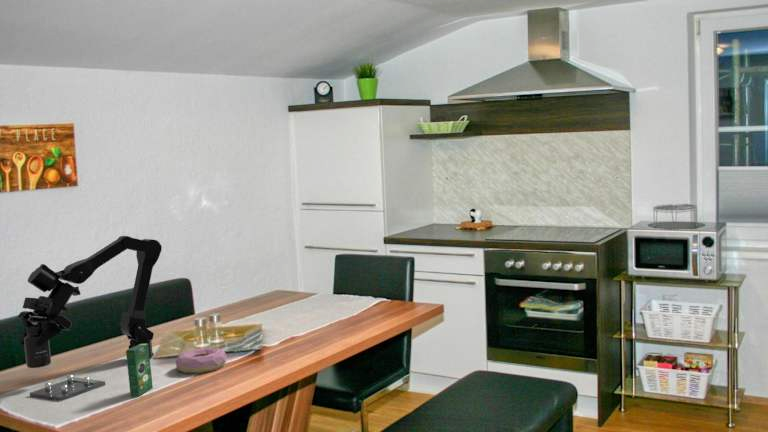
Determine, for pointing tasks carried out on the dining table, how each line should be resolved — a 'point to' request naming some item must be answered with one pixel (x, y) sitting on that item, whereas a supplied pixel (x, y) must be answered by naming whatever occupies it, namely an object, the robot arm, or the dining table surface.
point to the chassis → (67, 388)
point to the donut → (201, 360)
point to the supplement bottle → (36, 348)
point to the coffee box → (139, 369)
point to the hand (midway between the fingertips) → (29, 345)
